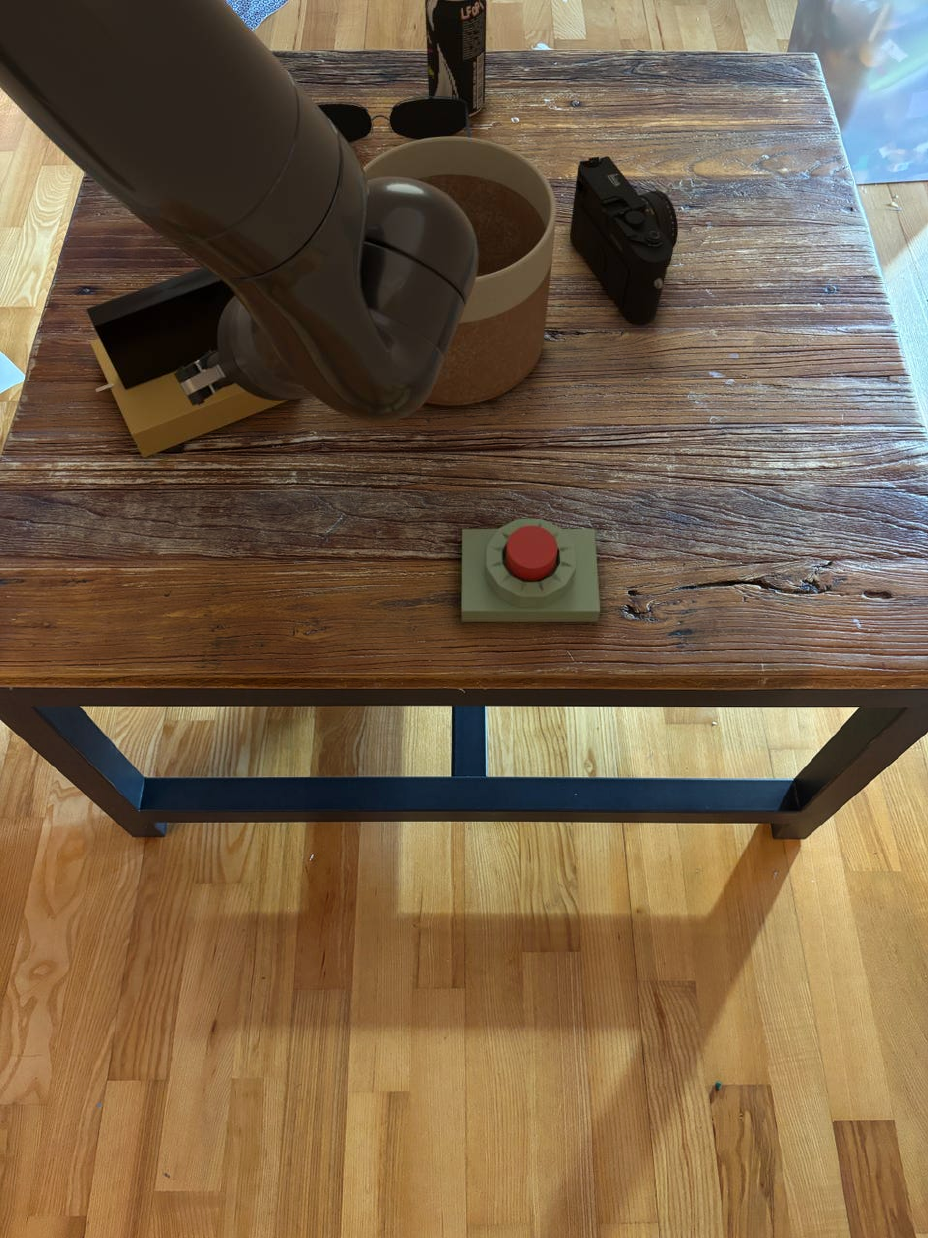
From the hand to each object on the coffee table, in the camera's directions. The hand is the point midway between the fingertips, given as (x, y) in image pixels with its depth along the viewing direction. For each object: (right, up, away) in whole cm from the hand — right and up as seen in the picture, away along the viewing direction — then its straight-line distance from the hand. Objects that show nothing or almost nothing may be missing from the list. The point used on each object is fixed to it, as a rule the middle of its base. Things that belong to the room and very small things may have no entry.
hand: (234, 357), depth 72 cm
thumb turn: (-4, +1, +3) cm, 6 cm away
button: (+23, -16, -6) cm, 29 cm away
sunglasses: (+10, +21, +17) cm, 29 cm away
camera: (+33, +11, +12) cm, 37 cm away
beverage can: (+17, +32, +23) cm, 43 cm away
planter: (+17, +4, +8) cm, 19 cm away
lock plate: (-4, 0, +6) cm, 8 cm away
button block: (+23, -18, -3) cm, 29 cm away
